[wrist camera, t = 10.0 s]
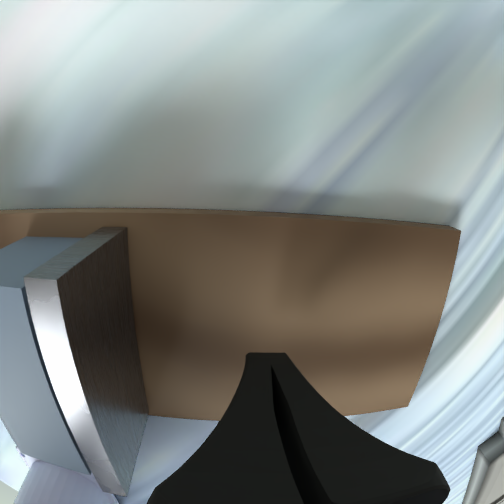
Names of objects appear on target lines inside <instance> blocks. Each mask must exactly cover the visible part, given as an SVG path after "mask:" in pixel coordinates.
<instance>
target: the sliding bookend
mask: <svg viewBox="0 0 504 504" xmlns="http://www.w3.org/2000/svg"><path fill="white" fill-rule="evenodd" d="M23 278H24V283H25V288H26V293H27V298H28V303H29V307H30V311H31V316H32V320H33V324H34V328H35V331H36V335H37V339H38V342H39V346H40V349H41V352H42V356H43V359H44V362H45V365H46V368H47V371H48V374H49V377H50V380H51V382H52V385H53V388H54V391H55V393H56V396H57V399H58V401H59V404H60V406H61V409H62V411H63V413H64V416H65V418H66V420H67V423H68V425H69V427H70V430H71V432H72V434H73V436H74V438H75V440H76V442H77V444H78V447H79V449H80V451H81V453H82V455H83V457H84V458H85V460H86V462H87V464H88V466H89V468H90V470H91V472H92V473H93V475H94V477H95V479H96V481H97V482H98V484H99V486H100V487H101V489H102V491H103V492H106V493H111V494H115V495H120V496H125V497H127V494H128V490H129V486H130V482H131V478H132V474H133V470H134V466H135V462H136V458H137V455H138V451H139V447H140V443H141V439H142V436H143V432H144V428H145V425H146V421H147V418H148V414H149V408H148V403H147V398H146V392H145V387H144V381H143V376H142V370H141V364H140V357H139V351H138V344H137V336H136V329H135V321H134V312H133V303H132V293H131V281H130V269H129V254H128V235H127V227H101V228H100V229H98V230H96V231H95V232H93V233H91V234H90V235H88V236H86V237H85V238H83V239H81V240H80V241H78V242H76V243H75V244H73V245H72V246H70V247H68V248H67V249H65V250H64V251H62V252H60V253H59V254H57V255H56V256H54V257H53V258H51V259H50V260H48V261H46V262H45V263H43V264H42V265H40V266H39V267H37V268H36V269H34V270H33V271H31V272H30V273H28V274H27V275H26V276H24V277H23Z"/></svg>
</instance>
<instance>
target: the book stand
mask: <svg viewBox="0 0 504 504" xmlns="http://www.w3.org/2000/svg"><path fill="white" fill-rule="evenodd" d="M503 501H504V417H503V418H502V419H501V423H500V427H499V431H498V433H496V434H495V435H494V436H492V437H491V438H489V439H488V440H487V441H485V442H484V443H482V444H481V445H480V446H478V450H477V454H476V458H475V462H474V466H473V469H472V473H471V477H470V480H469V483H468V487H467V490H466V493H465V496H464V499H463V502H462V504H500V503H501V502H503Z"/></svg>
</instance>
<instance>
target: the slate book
mask: <svg viewBox="0 0 504 504" xmlns="http://www.w3.org/2000/svg"><path fill="white" fill-rule="evenodd" d="M81 239H83V238H70V237H28V236H26V237H24V238H22V239H20V240H18V241H16V242H14V243H12V244H10V245H8V246H6V247H4V248H2V249H0V418H1V420H2V422H3V423H4V425H5V427H6V429H7V430H8V432H9V434H10V436H11V437H12V439H13V441H14V442H15V444H16V445H17V447H18V449H19V450H20V452H21V453H23V454H25V455H28V456H30V457H33V458H36V459H38V460H41V461H44V462H47V463H50V464H53V465H56V466H59V467H62V468H66V469H69V470H72V471H76V472H79V473H83V474H87V475H91V470H90V468H89V466H88V464H87V462H86V460H85V458H84V457H83V455H82V453H81V451H80V449H79V447H78V444H77V442H76V440H75V438H74V436H73V434H72V432H71V430H70V427H69V425H68V423H67V420H66V418H65V416H64V413H63V411H62V409H61V406H60V404H59V401H58V399H57V396H56V393H55V391H54V388H53V385H52V382H51V380H50V377H49V374H48V371H47V368H46V365H45V362H44V359H43V356H42V352H41V349H40V346H39V342H38V339H37V335H36V331H35V328H34V324H33V320H32V316H31V311H30V307H29V303H28V298H27V293H26V288H25V283H24V278H23V277H24V276H26V275H27V274H28V273H30V272H31V271H33V270H34V269H36V268H37V267H39V266H40V265H42V264H43V263H45V262H46V261H48V260H50V259H51V258H53V257H54V256H56V255H57V254H59V253H60V252H62V251H64V250H65V249H67V248H68V247H70V246H72V245H73V244H75V243H76V242H78V241H80V240H81Z"/></svg>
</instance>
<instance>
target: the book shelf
mask: <svg viewBox="0 0 504 504" xmlns="http://www.w3.org/2000/svg"><path fill="white" fill-rule="evenodd" d="M101 227H127V235H128V254H129V269H130V281H131V293H132V303H133V312H134V321H135V329H136V336H137V344H138V351H139V357H140V364H141V370H142V376H143V381H144V387H145V392H146V398H147V403H148V408H149V414H148V415H153V416H162V417H172V418H183V419H197V420H217V421H220V420H221V418H222V417H223V415H224V413H225V412H226V410H227V408H228V406H229V404H230V402H231V400H232V398H233V396H234V394H235V392H236V390H237V388H238V385H239V383H240V380H241V377H242V374H243V371H244V367H245V356H246V354H248V353H249V352H261V353H284V352H285V353H286V354H287V355H288V356H289V358H290V359H291V360H292V362H293V363H294V364H295V366H296V367H297V368H298V370H299V371H300V372H301V373H302V375H303V376H304V377H305V378H306V379H307V381H308V382H309V383H310V384H311V385H312V386H313V387H314V388H315V390H316V391H317V392H318V393H319V394H320V395H321V396H322V397H323V398H324V399H325V400H326V401H327V402H328V403H329V404H330V405H331V406H332V407H333V408H335V409H336V410H337V411H338V412H339V413H340V414H342V415H343V416H349V415H357V414H365V413H372V412H378V411H385V410H391V409H396V408H402V407H407V406H408V405H409V402H410V400H411V398H412V395H413V393H414V391H415V388H416V386H417V383H418V381H419V378H420V376H421V373H422V371H423V368H424V366H425V363H426V360H427V357H428V355H429V352H430V349H431V346H432V343H433V340H434V337H435V334H436V331H437V328H438V325H439V321H440V318H441V315H442V311H443V308H444V304H445V301H446V297H447V293H448V289H449V286H450V282H451V277H452V273H453V269H454V264H455V260H456V255H457V250H458V245H459V240H460V234H461V231H460V230H458V229H455V228H453V227H450V226H446V225H436V224H426V223H416V222H405V221H394V220H383V219H370V218H358V217H344V216H330V215H314V214H298V213H279V212H259V211H235V210H207V209H166V208H54V209H17V210H0V249H2V248H4V247H6V246H8V245H10V244H12V243H14V242H16V241H18V240H20V239H22V238H24V237H26V236H28V237H70V238H85V237H86V236H88V235H90V234H91V233H93V232H95V231H96V230H98V229H100V228H101Z"/></svg>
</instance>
